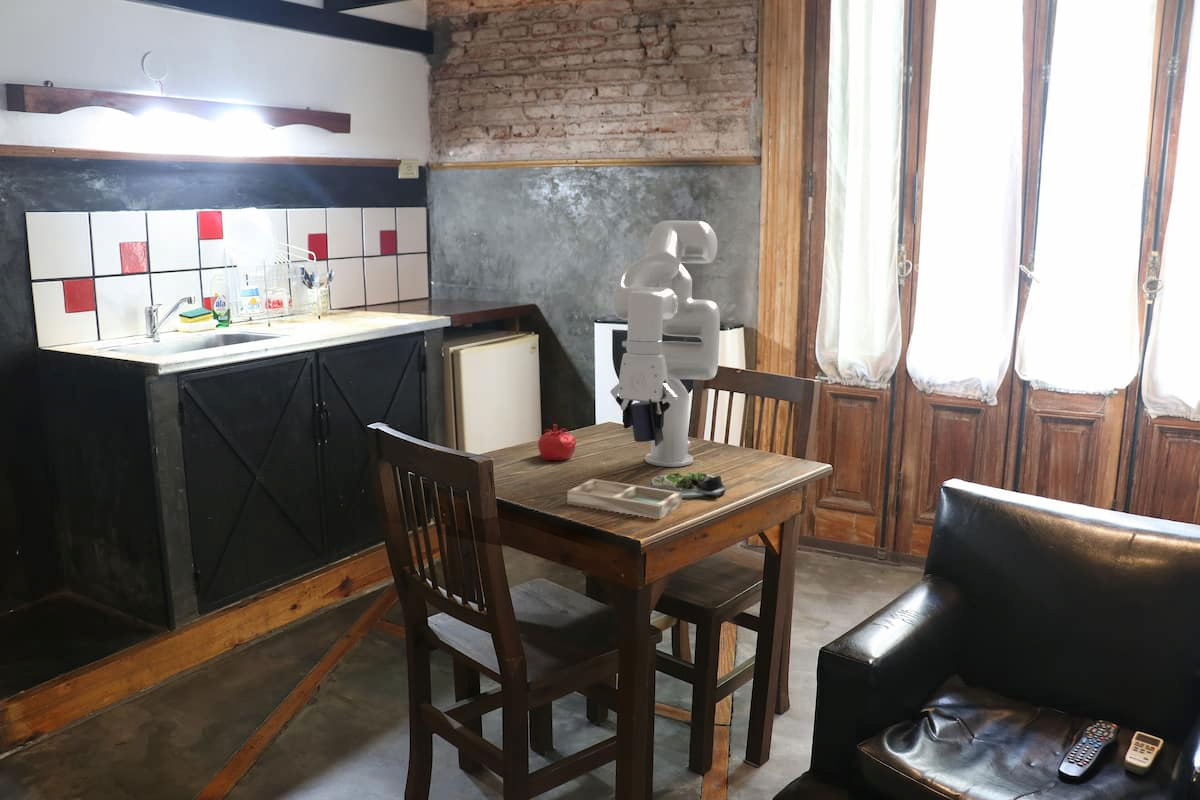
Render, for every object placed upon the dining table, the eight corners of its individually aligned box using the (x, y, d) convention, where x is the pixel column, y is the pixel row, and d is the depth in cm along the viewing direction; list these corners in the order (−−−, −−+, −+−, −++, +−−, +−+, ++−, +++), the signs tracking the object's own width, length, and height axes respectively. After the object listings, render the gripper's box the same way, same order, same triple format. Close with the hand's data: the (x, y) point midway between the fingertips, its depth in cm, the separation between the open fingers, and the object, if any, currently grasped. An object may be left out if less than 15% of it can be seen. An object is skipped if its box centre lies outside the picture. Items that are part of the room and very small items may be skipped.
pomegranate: (571, 464, 256) (572, 430, 254) (534, 462, 258) (534, 427, 256) (578, 454, 266) (579, 421, 264) (542, 452, 267) (542, 418, 265)
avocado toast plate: (647, 503, 225) (648, 483, 224) (637, 481, 242) (637, 463, 241) (731, 501, 227) (732, 482, 226) (715, 480, 244) (715, 462, 243)
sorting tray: (592, 490, 232) (592, 478, 232) (681, 505, 222) (681, 492, 221) (567, 504, 222) (567, 491, 221) (659, 519, 212) (659, 506, 211)
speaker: (672, 440, 218) (667, 393, 216) (656, 446, 213) (651, 399, 212) (644, 438, 223) (639, 393, 221) (628, 444, 218) (624, 398, 216)
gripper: (600, 347, 215) (599, 427, 218) (673, 353, 207) (671, 437, 210) (617, 343, 221) (615, 421, 225) (688, 349, 213) (686, 430, 216)
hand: (642, 428), depth 217 cm, fingers closed on speaker, 6 cm apart
